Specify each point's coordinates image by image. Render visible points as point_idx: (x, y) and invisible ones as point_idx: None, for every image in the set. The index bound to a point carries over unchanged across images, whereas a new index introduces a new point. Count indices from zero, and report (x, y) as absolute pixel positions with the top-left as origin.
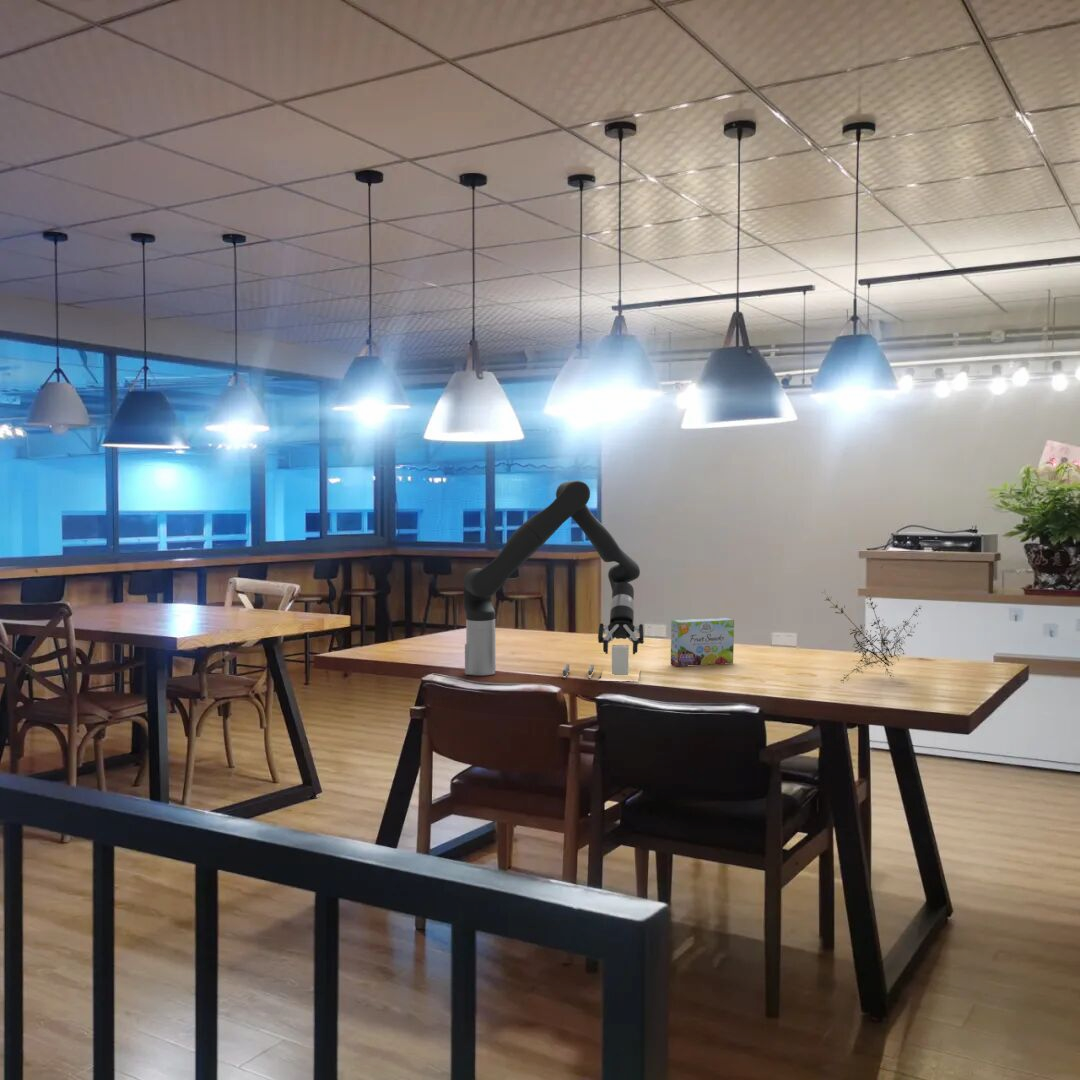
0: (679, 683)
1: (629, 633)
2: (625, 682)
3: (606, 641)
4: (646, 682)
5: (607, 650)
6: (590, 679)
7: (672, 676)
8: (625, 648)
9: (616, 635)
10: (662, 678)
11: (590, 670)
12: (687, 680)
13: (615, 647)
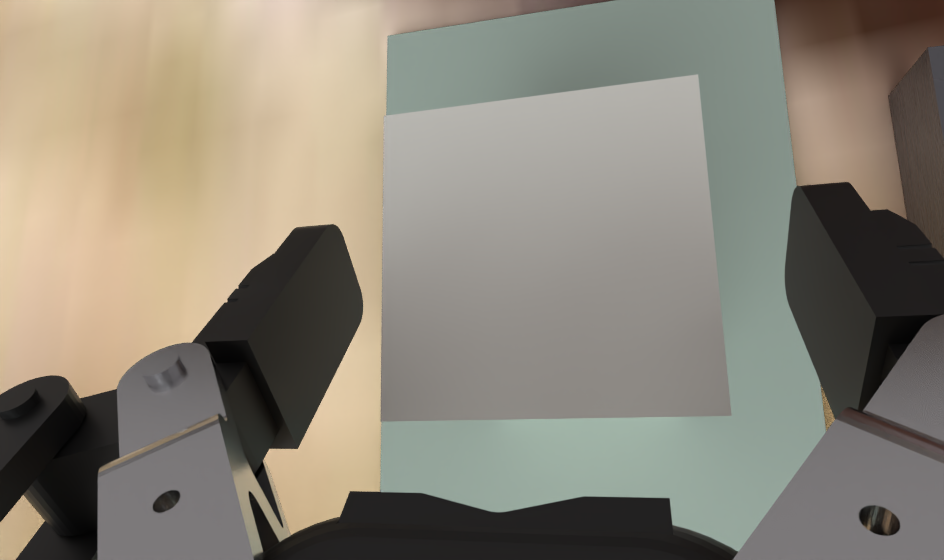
0: (97, 77)
1: (216, 448)
2: (504, 10)
3: (908, 300)
4: (329, 55)
5: (795, 217)
6: (888, 76)
7: (111, 385)
8: (434, 116)
9: (650, 517)
10: (197, 269)
11: (941, 73)
12: (29, 214)
13: (619, 87)
